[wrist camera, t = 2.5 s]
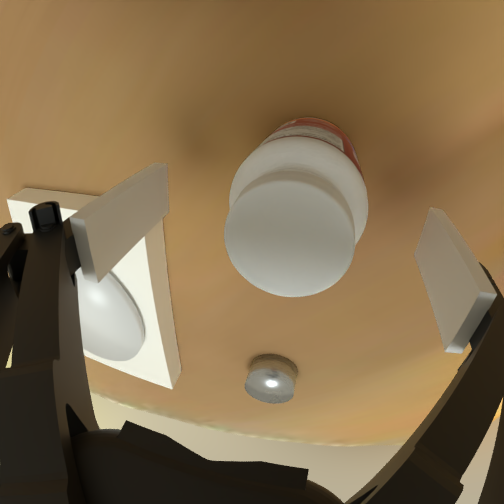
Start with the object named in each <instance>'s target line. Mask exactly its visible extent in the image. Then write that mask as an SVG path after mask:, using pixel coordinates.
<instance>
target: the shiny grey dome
mask: <svg viewBox="0 0 504 504" xmlns="http://www.w3.org/2000/svg"><path fill="white" fill-rule="evenodd" d="M297 373H298V370H297V367H296V365H295V364H294V363H293V362H292V361H291V360H289V359H287V358H285V357H283V356H280V355H275V354H264V355H260V356H258V357H256V358H255V359H254V360H253V361H252V363H251V367H250V370H249V373H248V376H247V379H246V382H245V389H246V391H247V393H248V394H249V395H251V396H252V397H253V398H255V399H257V400H260V401H263V402H266V403H284V402H287V401H289V400H290V399H291V398H292V397H293V394H294V389H295V383H296V378H297Z"/></svg>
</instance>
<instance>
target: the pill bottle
mask: <svg viewBox="0 0 504 504" xmlns="http://www.w3.org/2000/svg"><path fill="white" fill-rule="evenodd" d="M229 207H230V211H229V213H228V216H227V219H226V222H225V229H224V240H225V246H226V250H227V253H228V256H229V258H230V260H231V262H232V263H233V265H234V267H235V268H236V269H237V270H238V272H239V273H240V274H241V275H242V276H243V277H244V278H245V279H246V280H248V281H249V282H250V283H251V284H253V285H254V286H256V287H258V288H260V289H262V290H264V291H266V292H269V293H271V294H275V295H279V296H286V297H302V296H308V295H313V294H316V293H319V292H321V291H323V290H325V289H327V288H329V287H330V286H332V285H333V284H335V283H336V282H337V281H338V280H339V279H340V278H341V277H342V276H343V275H344V274H345V272H346V271H347V269H348V268H349V266H350V264H351V262H352V258H353V255H354V250H355V245H356V243H357V242H358V241H359V239H360V237H361V235H362V234H363V231H364V229H365V226H366V222H367V217H368V198H367V191H366V186H365V183H364V179H363V176H362V173H361V169H360V166H359V162H358V159H357V156H356V153H355V150H354V147H353V145H352V143H351V142H350V140H349V138H348V137H347V136H346V135H345V134H344V132H343V131H341V130H340V129H339V128H338V127H337V126H335V125H333V124H332V123H330V122H328V121H325V120H322V119H318V118H309V117H308V118H298V119H294V120H291V121H289V122H287V123H285V124H283V125H281V126H280V127H279V128H277V129H276V130H275V131H274V132H273V133H272V134H270V135H269V136H268V137H267V138H266V139H265V140H264V141H263V142H262V143H261V144H260V145H259V146H258V147H257V148H256V149H255V150H254V151H253V152H252V153H251V154H250V155H249V156H248V157H247V158H246V159H245V160H244V162H243V163H242V164H241V166H240V167H239V169H238V170H237V172H236V174H235V176H234V179H233V182H232V185H231V189H230V196H229Z"/></svg>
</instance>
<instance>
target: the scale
mask: <svg viewBox="0 0 504 504" xmlns="http://www.w3.org/2000/svg"><path fill="white" fill-rule="evenodd" d="M98 197H99V196H93V195H85V194H77V193H69V192H60V191H52V190H43V189H34V188H24V189H23V190H21V191H19V192H18V193H16V194H14V195H13V196H11V197H10V198H8V199H7V202H8V206H9V210H10V214H11V217H12V221H13V223H14V222H19V223H21V224H22V227H23V231H24V233H33V229H32V225H31V221H30V217H29V213H28V212H29V210H30V209H31V208H32V207H34V206H35V205H38V204H40V203H43V202H47V201H56V202H58V203H59V206H60V211H61V216H62V221H64V220H66V219H67V218H69V217H70V216H71V215H73V214H74V213H76V212H77V211H79V210H80V209H81V208H83V207H84V206H86V205H87V204H89V203H90V202H92V201H93V200H95V199H96V198H98ZM75 274H76V277H77V285H78V302H79V315H80V326H81V336H82V344H83V352H84V355H85V356H87V357H89V358H91V359H94V360H96V361H98V362H101V363H103V364H105V365H108V366H110V367H113V368H115V369H118V370H120V371H123V372H125V373H128V374H131V375H133V376H136V377H139V378H141V379H144V380H147V381H150V382H152V383H155V384H158V385H161V386H164V387H167V388H170V389H173V387H174V385H175V383H176V381H177V379H178V377H179V375H180V373H181V371H182V370H181V364H180V358H179V352H178V346H177V339H176V333H175V326H174V319H173V312H172V304H171V296H170V288H169V280H168V271H167V262H166V252H165V241H164V230H163V219H162V220H161V221H159V222H158V223H157V224H156V225H155V226H154V227H153V228H152V229H151V230H150V231H149V232H148V233H147V234H146V235H145V236H144V237H143V238H142V239H141V240H140V241H139V242H138V243H137V244H136V245H135V246H134V247H133V248H132V249H131V250H130V251H129V252H128V253H127V254H126V255H125V256H124V257H123V258H122V259H121V260H120V261H119V262H118V263H117V264H116V265H115V266H114V267H113V269H112V270H111V271H110V272H109V273H108V274H107V275H106V276H105V277H104V278H103V279H102V280H101V281H100V282H99V283H95V282H92V281H88V280H85V279H84V277H83V273H82V270H81V267H80V268H79V269H78V270H77V271H76V272H75Z"/></svg>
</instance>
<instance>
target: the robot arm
mask: <svg viewBox="0 0 504 504" xmlns="http://www.w3.org/2000/svg"><path fill="white" fill-rule="evenodd" d="M28 213H29V217H30V221H31V225H32V229H33V233H24V231H23V227H22V224H21V223H19V222H14V223H8V224H5V225H4V226H3V227H2V228H0V504H455V503H456V501H457V500H458V498H459V496H460V495H461V493H462V491H463V486H464V485H463V484H461V483H460V479H461V477H462V475H463V474H464V472H465V471H466V469H467V467H468V466H469V464H470V462H471V460H472V459H473V457H474V455H475V453H476V452H477V449H478V448H479V446H480V444H481V442H482V440H483V438H484V437H485V435H486V433H487V431H488V429H489V427H490V424H491V422H492V420H493V418H494V416H495V414H496V412H497V409H498V407H499V405H500V402H501V400H502V398H503V402H502V409H501V415H500V422H499V427H498V432H497V437H496V441H495V446H494V450H493V455H492V458H491V462H490V466H489V470H488V474H487V477H486V480H485V483H484V487H483V490H482V493H481V496H480V499H479V502H478V504H504V298H503V296H502V294H501V292H500V291H499V289H498V287H497V286H496V284H495V282H494V280H493V279H492V277H491V275H490V273H489V272H488V270H487V269H486V268H485V267H484V266H483V265H482V264H481V263H480V262H478V261H477V259H476V257H475V256H474V254H473V253H472V251H471V250H470V248H469V246H468V245H467V243H466V242H465V240H464V239H463V237H462V236H461V234H460V233H459V231H458V230H457V229H456V227H455V226H454V224H453V223H452V221H451V220H450V219H449V217H448V216H447V214H446V213H445V212H444V210H442V209H438V208H434V207H430V208H429V211H428V215H427V218H426V221H425V224H424V227H423V230H422V233H421V236H420V239H419V242H418V245H417V248H416V251H415V253H414V257H415V259H416V262H417V265H418V267H419V270H420V273H421V276H422V278H423V281H424V284H425V287H426V290H427V293H428V296H429V299H430V302H431V305H432V308H433V312H434V315H435V318H436V321H437V325H438V328H439V332H440V335H441V339H442V343H443V346H444V350H445V352H451V353H462V352H463V350H464V349H465V347H466V346H467V344H468V343H469V342H470V345H471V348H472V350H471V352H470V353H469V355H468V356H467V358H466V359H465V360H464V362H463V363H462V365H461V366H460V367H459V369H458V372H457V374H456V375H455V377H454V379H453V380H452V382H451V383H450V385H449V386H448V388H447V389H446V390H445V392H444V393H443V395H442V396H441V398H440V399H439V400H438V402H437V403H436V405H435V406H434V407H433V409H432V410H431V411H430V413H429V414H428V415H427V417H426V418H425V419H424V421H423V422H422V423H421V424H420V426H419V427H418V428H417V429H416V431H415V432H414V433H413V434H412V436H411V437H410V438H409V439H408V440H407V442H406V443H405V444H404V445H403V446H402V448H401V449H400V450H399V451H398V452H397V453H396V454H395V455H394V456H393V458H392V459H391V460H390V461H389V462H388V463H387V464H386V465H385V466H384V467H383V468H382V469H381V470H380V471H379V473H377V475H376V476H375V477H374V478H373V479H372V480H371V481H370V482H369V483H367V484H366V485H365V486H364V487H363V488H362V489H361V490H360V491H359V492H357V493H356V494H355V495H354V496H352V497H351V498H350V499H349V500H348V501H346V502H345V503H343V502H342V501H341V500H340V499H339V498H338V497H337V496H335V495H334V494H333V493H332V492H330V491H329V490H327V489H326V488H324V487H322V486H320V485H318V484H316V483H314V482H312V481H310V480H307V476H308V469H304V468H297V467H290V466H284V465H278V464H273V463H267V462H262V461H255V462H254V461H253V462H236V461H235V462H234V461H211V460H207V459H205V458H203V457H201V456H200V455H198V454H196V453H194V452H192V451H191V450H189V449H187V448H186V447H184V446H182V445H181V444H179V443H177V442H176V441H174V440H173V439H171V438H170V437H168V436H166V435H164V434H161V433H158V432H155V431H152V430H150V429H147V428H144V427H142V426H139V425H137V424H134V423H132V422H129V421H127V420H126V422H125V423H124V425H123V427H122V429H121V430H119V429H99V426H98V424H97V421H96V419H95V415H94V410H93V406H92V401H91V396H90V390H89V385H88V379H87V373H86V366H85V359H84V352H83V344H82V336H81V326H80V315H79V302H78V285H77V277H76V274H75V272H76V271H77V270H78V269H79V268H80V267H81V270H82V273H83V277H84V279H85V280H88V281H92V282H95V283H99V282H100V281H101V280H102V279H103V278H104V277H105V276H106V275H107V274H108V273H109V272H110V271H111V270H112V269H113V267H114V266H115V265H116V264H117V263H118V262H119V261H120V260H121V259H122V258H123V257H124V256H125V255H126V254H127V253H128V252H129V251H130V250H131V249H132V248H133V247H134V246H135V245H136V244H137V243H138V242H139V241H140V240H141V239H142V238H143V237H144V236H145V235H146V234H147V233H148V232H149V231H150V230H151V229H152V228H153V227H154V226H155V225H156V224H157V223H158V222H159V221H161V220H162V219H163V218H164V217H165V216H166V215H167V214H168V213H169V196H168V167H167V163H153V164H151V165H149V166H148V167H146V168H144V169H143V170H141V171H139V172H137V173H136V174H134V175H133V176H131V177H129V178H128V179H126V180H124V181H123V182H121V183H120V184H118V185H116V186H115V187H113V188H112V189H110V190H109V191H107V192H105V193H104V194H102V195H101V196H99V197H98V198H96V199H95V200H93V201H92V202H90V203H89V204H87V205H86V206H84V207H83V208H81V209H80V210H79V211H77V212H76V213H74V214H73V215H71V216H70V217H69V218H67V219H66V220H64V221H62V216H61V211H60V206H59V203H58V202H56V201H47V202H43V203H40V204H38V205H35V206H34V207H32V208H31V209H30V210H29V212H28ZM8 273H9V276H10V277H9V276H8ZM12 346H13V350H12V365H11V367H10V368H6V364H7V361H8V358H9V355H10V352H11V348H12Z"/></svg>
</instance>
